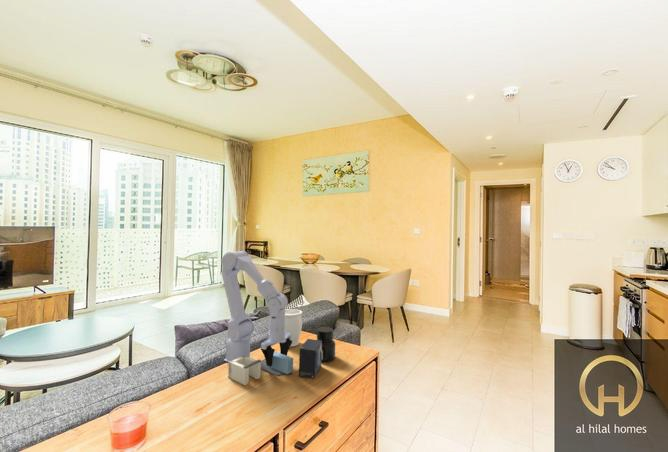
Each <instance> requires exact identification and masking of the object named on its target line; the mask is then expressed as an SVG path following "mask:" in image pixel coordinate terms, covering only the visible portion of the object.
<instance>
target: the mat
mask: <svg viewBox="0 0 668 452" xmlns="http://www.w3.org/2000/svg"><path fill="white" fill-rule="evenodd" d="M261 370H262V371H265V372H267V373H270V374H272V375H274V376H277V377H280V376H282V375H283V374H284V373H283V372H280V371H278V370H275V369H273V368H270V367H268V366H267V364H266V360H265V358H264V359H263V360H261Z"/></svg>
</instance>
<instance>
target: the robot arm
mask: <svg viewBox="0 0 668 452" xmlns="http://www.w3.org/2000/svg"><path fill="white" fill-rule="evenodd" d="M220 261H221V267H222V268H221V269H222V270H221V277H222V282H223V286H224V291H225V295H226V298H227V303H228V310H229V312H230V318H229V320H228V321H227V327H228V329H227V336H228V339H227V341H226V344H225V358H224V359H223V361H224V362H226V363H229V362H230V361H232V360H234V359H237V358H239V357H242V356H247V357H249V358H252V359H255V358H253V357H251V338H252V334H253V332H254V330H255V325H254V323H253V321H252V319H251V316H250V315H249V314H248V313H246V311H245V307H244V302H243V298H242V293H241V288H240V284H239V280H238V274H239V273H240V271H244V272H245V273H246V274H247V275H248V277H250V279H252V281H253V282H254V283H255V284H256V286H257V287H256V291H258V293H259V294H260V295H261V297H262V298H263V299H264V301H265V302H267V303H266V307H267V309H268V311H269V336H268V338H267V339H266V340H264V341H263V342H261V343H260V350H261V352H262V353H263V355H264V359H265V360H266V364H267V366H270V367H271V366H272V361H273V354H274V351H275V352H276V349H275V348H273V347H272V346H274V345H277V344H279V349H280V352H279V353H280V354H283V355H286V356H288V354H289V353H288V352H289V349H290V348H291V347H290V346H291V344H292V340H289V339H291V338H292V334H291V333H286V334H285V309H286V308H287V307H288V305H289V300H288V297H287V296H286V294H284V293H281V291H279V290H278V289H277V288H276V286H274V282H273V281H272V280H269V279H265V278H264V276H263V275H262V273H261V272H260V271H259V269H258V268H257V266H256V265H255V264H254V262H253V259H252V257H251V255H249V252H247V251H245V250H240V251H227V252H226V253H224V255H223V257H221V259H220Z"/></svg>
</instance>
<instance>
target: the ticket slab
mask: <svg viewBox="0 0 668 452" xmlns="http://www.w3.org/2000/svg"><path fill="white" fill-rule="evenodd" d="M268 367H270V366H268ZM270 368H273V369H275V370H278V371H280V372H283V374H286V375H289V374H290V373H292V372H293V371H294V357H292V356H289V355H287V356H286V355H283V354H280V352H277V351H276V350H275V351H274V354H273V361H272V366H271V367H270Z"/></svg>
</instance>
